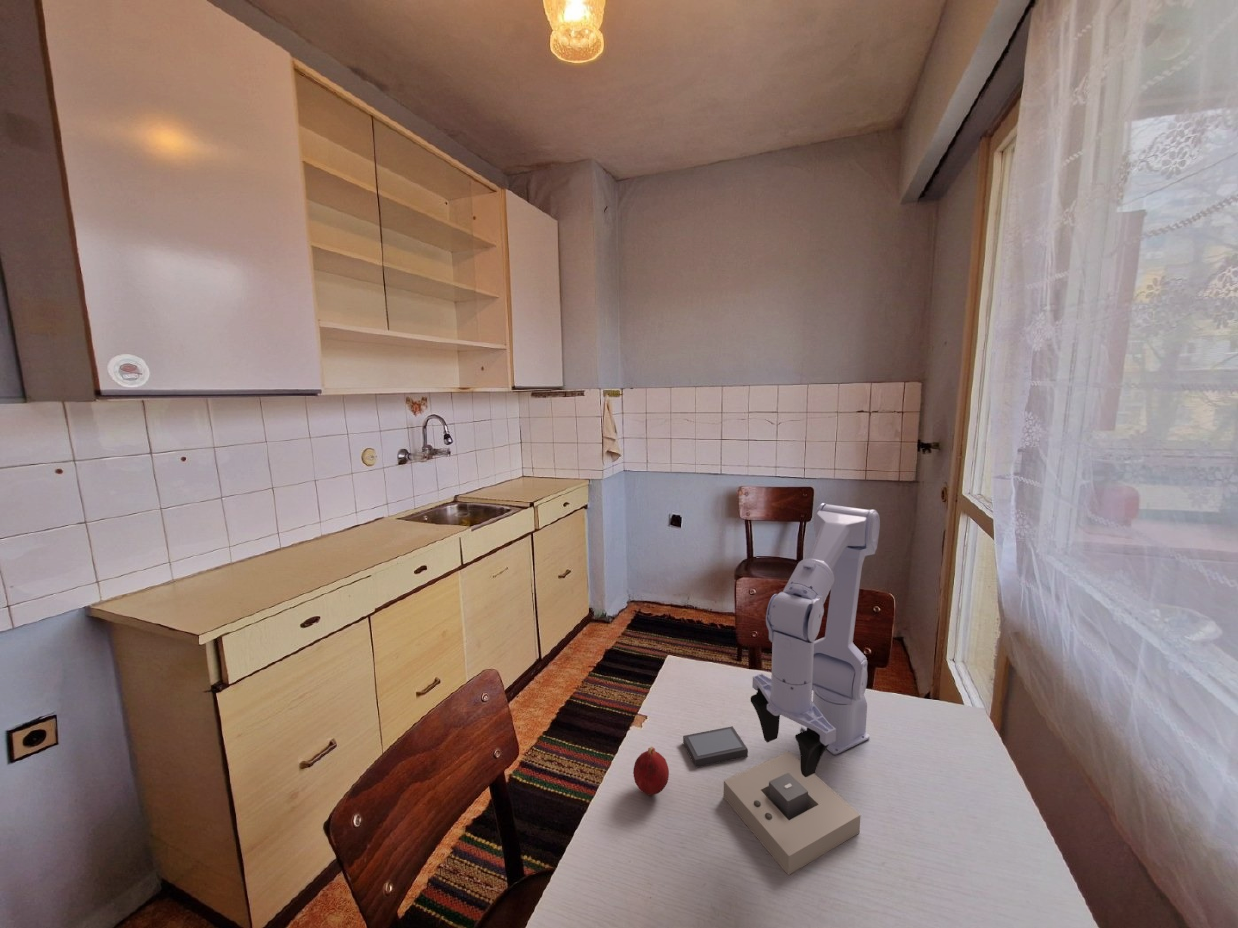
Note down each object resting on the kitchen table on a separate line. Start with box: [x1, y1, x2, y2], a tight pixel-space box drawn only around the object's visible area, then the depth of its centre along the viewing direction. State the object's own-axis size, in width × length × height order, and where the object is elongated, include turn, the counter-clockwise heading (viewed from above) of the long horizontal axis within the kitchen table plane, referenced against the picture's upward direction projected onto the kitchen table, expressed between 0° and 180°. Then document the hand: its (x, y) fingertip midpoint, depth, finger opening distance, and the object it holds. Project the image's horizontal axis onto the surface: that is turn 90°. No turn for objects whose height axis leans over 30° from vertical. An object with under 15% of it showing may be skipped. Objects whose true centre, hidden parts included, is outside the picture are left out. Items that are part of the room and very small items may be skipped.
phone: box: [682, 726, 749, 768], centre depth 87 cm, size 10×6×2 cm, turn 103°
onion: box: [632, 746, 670, 796], centre depth 77 cm, size 6×6×8 cm
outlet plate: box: [722, 751, 861, 876], centre depth 73 cm, size 14×14×3 cm
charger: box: [768, 773, 808, 820], centre depth 73 cm, size 4×4×5 cm
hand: (788, 755), depth 72 cm, fingers open, 7 cm apart
